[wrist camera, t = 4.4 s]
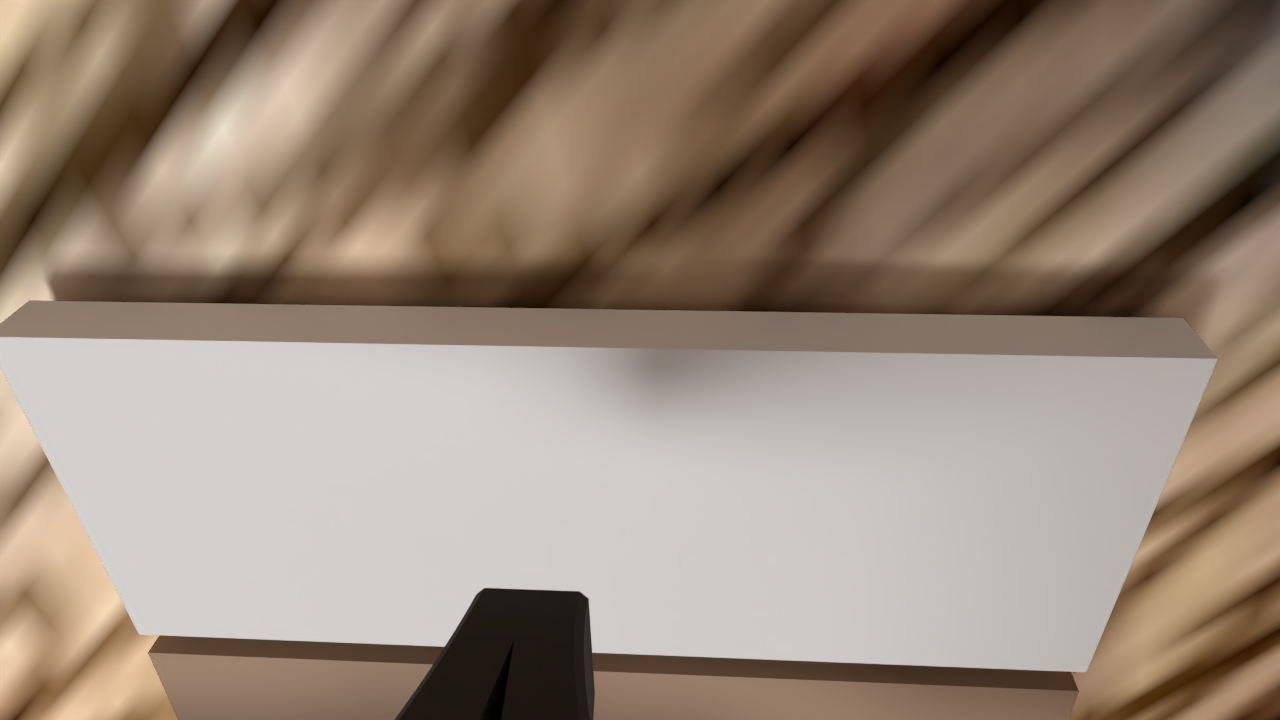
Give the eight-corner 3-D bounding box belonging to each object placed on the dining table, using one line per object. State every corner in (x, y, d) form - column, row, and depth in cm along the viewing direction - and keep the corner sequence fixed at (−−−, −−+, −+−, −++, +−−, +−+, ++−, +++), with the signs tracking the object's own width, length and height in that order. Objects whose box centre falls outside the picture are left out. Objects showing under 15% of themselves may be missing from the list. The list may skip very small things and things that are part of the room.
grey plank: (1066, 624, 19) (1086, 672, 18) (166, 591, 20) (139, 634, 19) (1183, 318, 15) (1218, 358, 14) (29, 300, 16) (-16, 336, 15)
